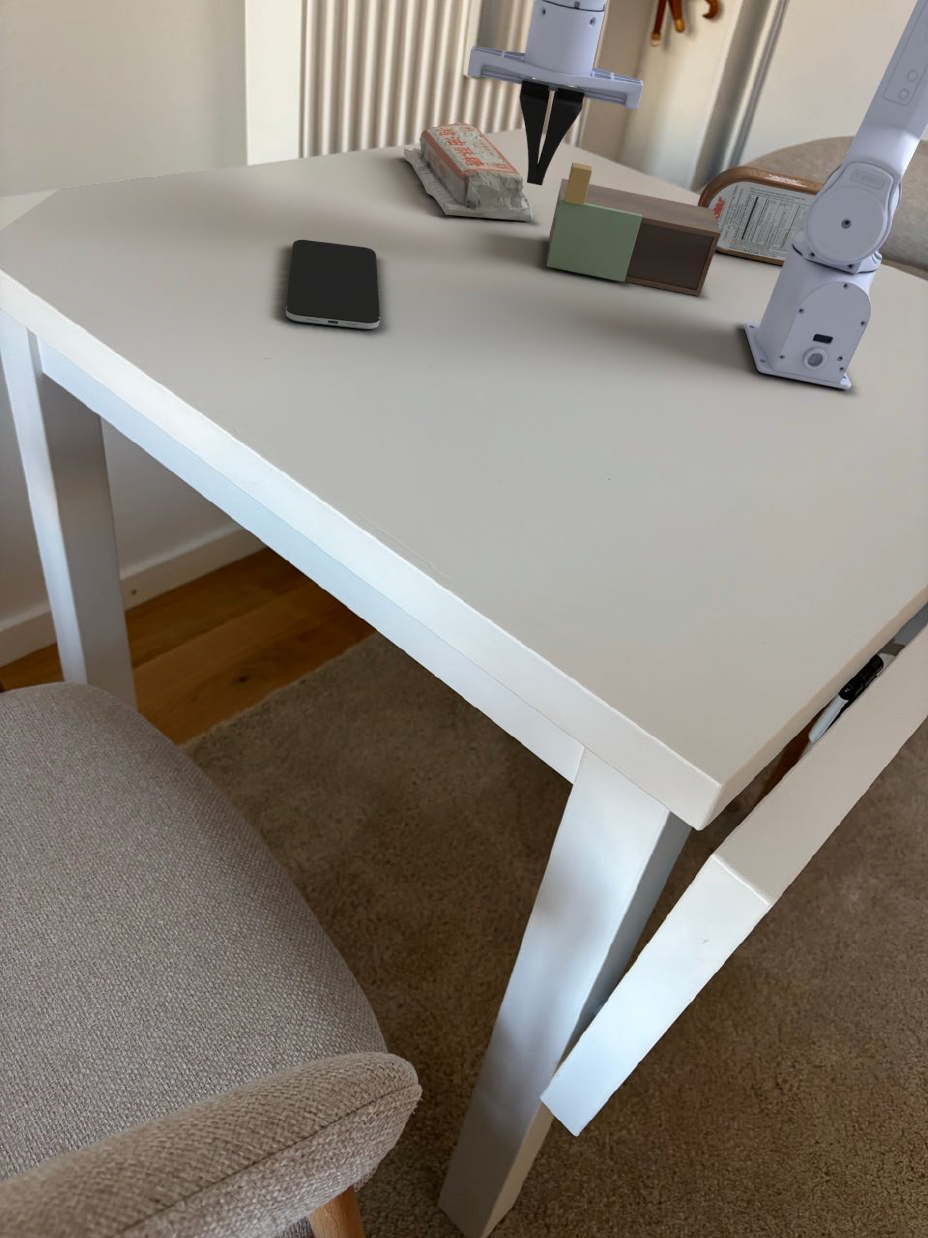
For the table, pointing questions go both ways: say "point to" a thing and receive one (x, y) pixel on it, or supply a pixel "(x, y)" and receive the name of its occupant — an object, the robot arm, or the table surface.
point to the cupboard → (661, 238)
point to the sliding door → (591, 232)
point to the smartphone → (333, 285)
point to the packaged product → (468, 174)
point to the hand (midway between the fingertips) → (534, 180)
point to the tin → (758, 211)
